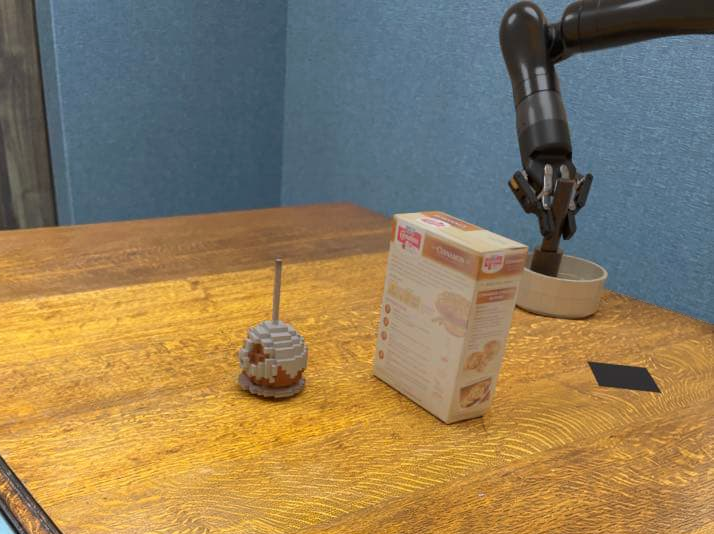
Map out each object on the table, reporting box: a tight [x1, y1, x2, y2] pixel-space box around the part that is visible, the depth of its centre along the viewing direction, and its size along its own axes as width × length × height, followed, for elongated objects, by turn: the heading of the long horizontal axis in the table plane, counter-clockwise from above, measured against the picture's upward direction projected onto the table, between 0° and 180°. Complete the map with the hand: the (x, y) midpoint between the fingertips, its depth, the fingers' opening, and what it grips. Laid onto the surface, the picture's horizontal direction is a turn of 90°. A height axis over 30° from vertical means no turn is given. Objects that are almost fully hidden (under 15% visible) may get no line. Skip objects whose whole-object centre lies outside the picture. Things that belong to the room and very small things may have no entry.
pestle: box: [530, 178, 575, 278], centre depth 124 cm, size 4×4×14 cm
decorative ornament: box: [237, 258, 309, 399], centre depth 93 cm, size 8×8×15 cm
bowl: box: [515, 252, 609, 320], centre depth 128 cm, size 14×14×6 cm
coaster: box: [587, 360, 662, 394], centre depth 107 cm, size 8×8×1 cm
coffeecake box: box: [372, 210, 530, 425], centre depth 93 cm, size 15×7×20 cm, turn 32°
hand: (559, 236), depth 122 cm, fingers closed on pestle, 2 cm apart
